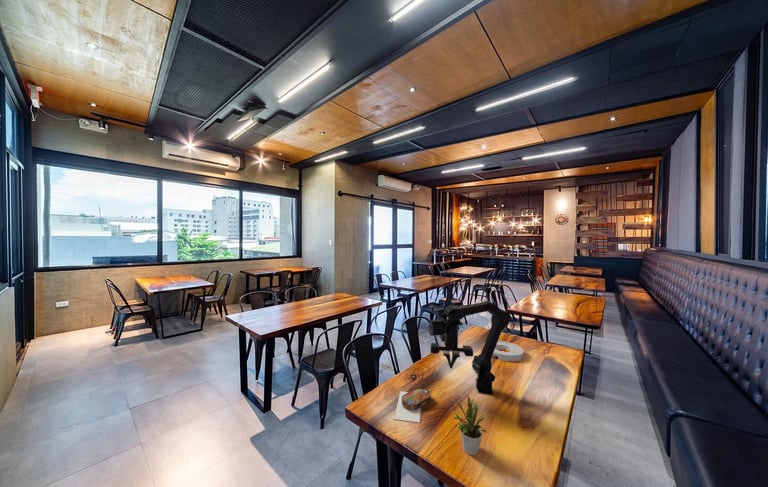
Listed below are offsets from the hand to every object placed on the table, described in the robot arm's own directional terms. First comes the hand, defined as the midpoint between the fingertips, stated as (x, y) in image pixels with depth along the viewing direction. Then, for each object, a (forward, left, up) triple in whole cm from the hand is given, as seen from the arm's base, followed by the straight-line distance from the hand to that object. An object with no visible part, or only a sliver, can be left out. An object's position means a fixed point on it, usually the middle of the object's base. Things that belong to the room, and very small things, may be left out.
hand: (450, 367), depth 128 cm
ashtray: (-35, -52, -13) cm, 64 cm away
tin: (+12, +12, -11) cm, 20 cm away
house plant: (-4, +32, -12) cm, 34 cm away
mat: (+18, +13, -12) cm, 25 cm away
